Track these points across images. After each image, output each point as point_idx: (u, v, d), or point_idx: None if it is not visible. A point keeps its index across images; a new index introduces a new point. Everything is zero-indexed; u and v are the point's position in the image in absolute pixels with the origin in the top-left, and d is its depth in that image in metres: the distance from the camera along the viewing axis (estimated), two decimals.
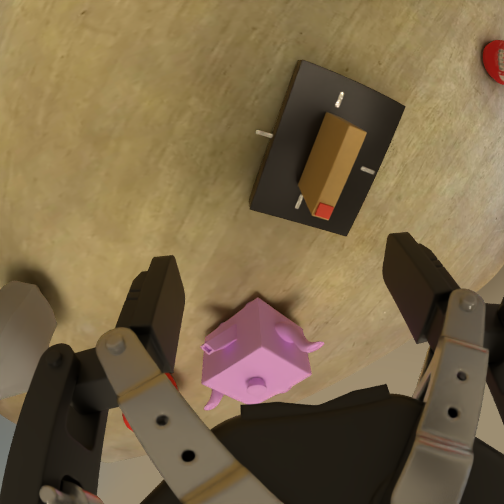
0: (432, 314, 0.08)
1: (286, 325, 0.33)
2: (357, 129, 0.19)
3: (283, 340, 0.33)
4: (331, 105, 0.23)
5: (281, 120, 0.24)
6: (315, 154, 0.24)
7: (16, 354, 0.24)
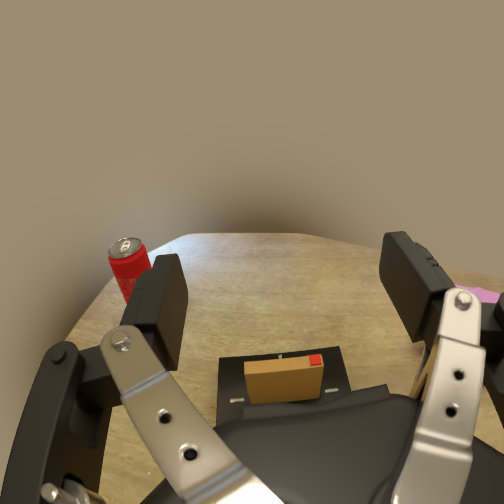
0: (428, 313, 0.08)
1: None
2: (245, 368, 0.27)
3: None
4: (244, 403, 0.30)
5: None
6: (285, 395, 0.28)
7: None
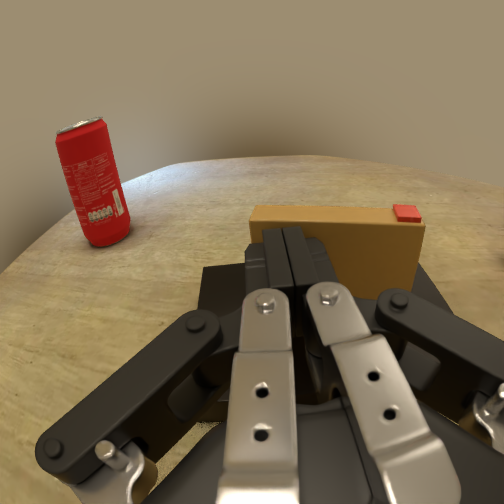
0: (302, 307, 0.09)
1: None
2: (253, 212, 0.13)
3: None
4: None
5: (315, 391, 0.12)
6: None
7: None
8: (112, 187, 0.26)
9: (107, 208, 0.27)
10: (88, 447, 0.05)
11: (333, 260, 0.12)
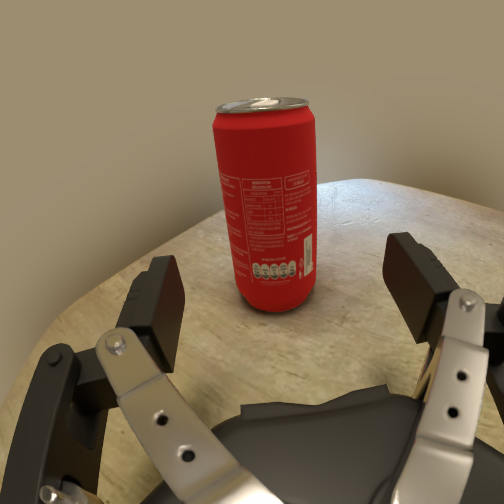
0: (432, 314, 0.08)
1: None
2: None
3: None
4: None
5: None
6: None
7: None
8: (306, 231, 0.16)
9: (289, 264, 0.17)
10: (35, 500, 0.03)
11: None
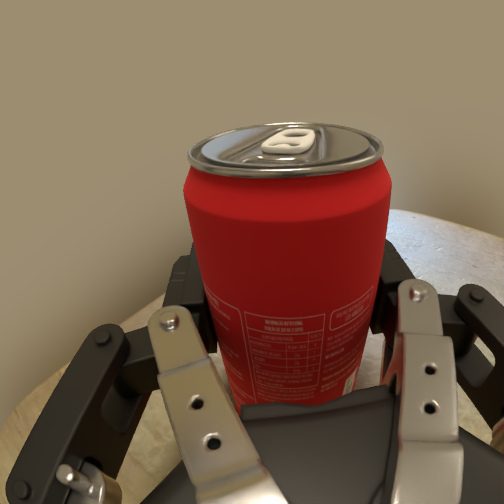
0: (385, 304, 0.09)
1: None
2: None
3: None
4: None
5: None
6: None
7: None
8: (352, 369, 0.09)
9: None
10: (50, 476, 0.04)
11: None
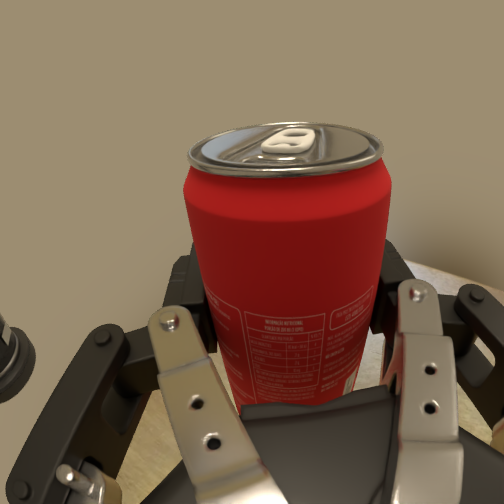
0: (385, 304, 0.09)
1: None
2: None
3: None
4: None
5: None
6: None
7: None
8: (352, 369, 0.09)
9: None
10: (50, 476, 0.04)
11: None
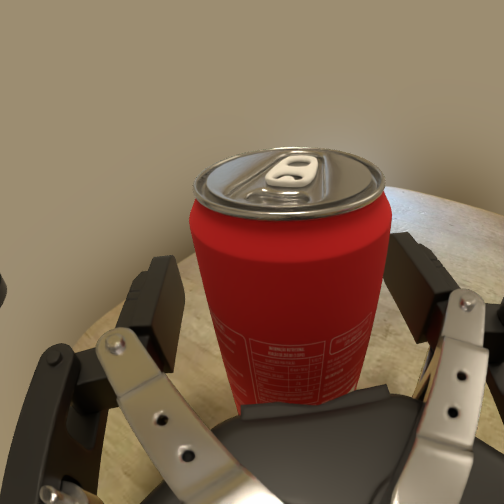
0: (432, 314, 0.08)
1: None
2: None
3: None
4: None
5: None
6: None
7: None
8: (351, 385, 0.09)
9: None
10: (35, 500, 0.03)
11: None
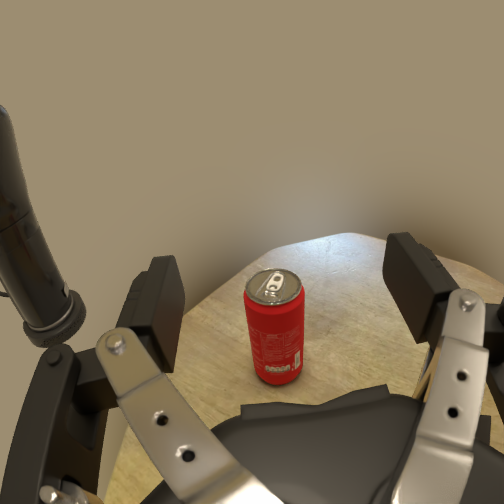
0: (432, 314, 0.08)
1: None
2: None
3: None
4: None
5: None
6: None
7: None
8: (296, 350, 0.28)
9: (286, 366, 0.29)
10: (35, 500, 0.03)
11: None
